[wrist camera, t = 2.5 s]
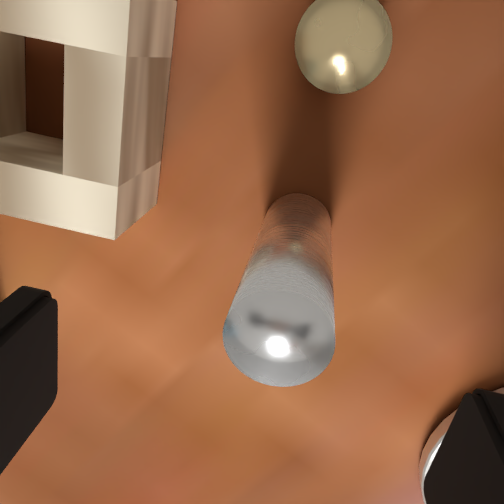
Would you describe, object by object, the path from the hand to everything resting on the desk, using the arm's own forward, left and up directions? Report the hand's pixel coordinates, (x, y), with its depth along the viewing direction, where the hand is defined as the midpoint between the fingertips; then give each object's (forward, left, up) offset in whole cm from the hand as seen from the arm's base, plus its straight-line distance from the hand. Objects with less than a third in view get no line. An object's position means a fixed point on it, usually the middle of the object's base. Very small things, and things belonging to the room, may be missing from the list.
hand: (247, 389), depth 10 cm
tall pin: (-1, 0, -13) cm, 13 cm away
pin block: (+11, -4, -13) cm, 17 cm away
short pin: (-1, -8, -13) cm, 15 cm away
